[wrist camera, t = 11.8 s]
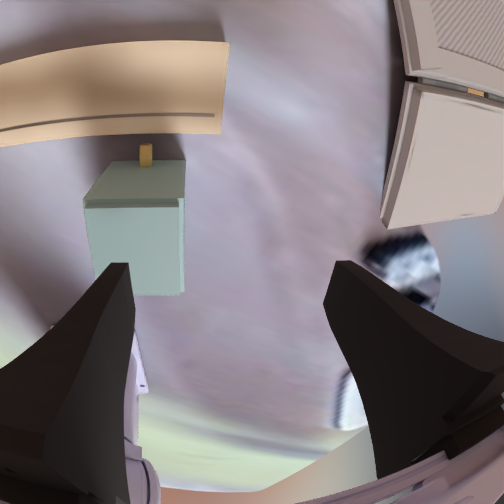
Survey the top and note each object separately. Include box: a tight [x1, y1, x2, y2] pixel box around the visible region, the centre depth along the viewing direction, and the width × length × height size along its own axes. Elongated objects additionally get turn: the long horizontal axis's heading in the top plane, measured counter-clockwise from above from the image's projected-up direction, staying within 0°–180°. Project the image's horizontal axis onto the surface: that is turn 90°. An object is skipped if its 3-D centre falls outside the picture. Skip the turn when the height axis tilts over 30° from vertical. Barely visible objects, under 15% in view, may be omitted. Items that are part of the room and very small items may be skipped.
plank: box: [0, 40, 230, 147], centre depth 13 cm, size 5×22×2 cm, turn 84°
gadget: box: [380, 0, 504, 229], centre depth 16 cm, size 23×15×4 cm, turn 4°
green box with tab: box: [83, 144, 186, 295], centre depth 16 cm, size 6×4×6 cm
